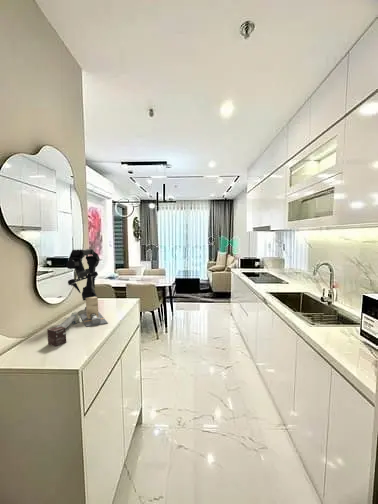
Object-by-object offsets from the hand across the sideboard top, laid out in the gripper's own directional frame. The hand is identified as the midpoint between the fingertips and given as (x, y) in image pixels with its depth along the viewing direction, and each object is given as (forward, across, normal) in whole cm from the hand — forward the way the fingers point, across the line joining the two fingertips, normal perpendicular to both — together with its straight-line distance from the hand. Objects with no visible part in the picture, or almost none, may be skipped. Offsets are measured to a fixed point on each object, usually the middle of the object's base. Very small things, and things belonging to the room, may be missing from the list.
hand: (87, 290), depth 193 cm
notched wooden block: (+18, -4, -7) cm, 19 cm away
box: (+22, -26, -42) cm, 54 cm away
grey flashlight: (+17, -19, -18) cm, 31 cm away
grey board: (+18, -4, -8) cm, 20 cm away
